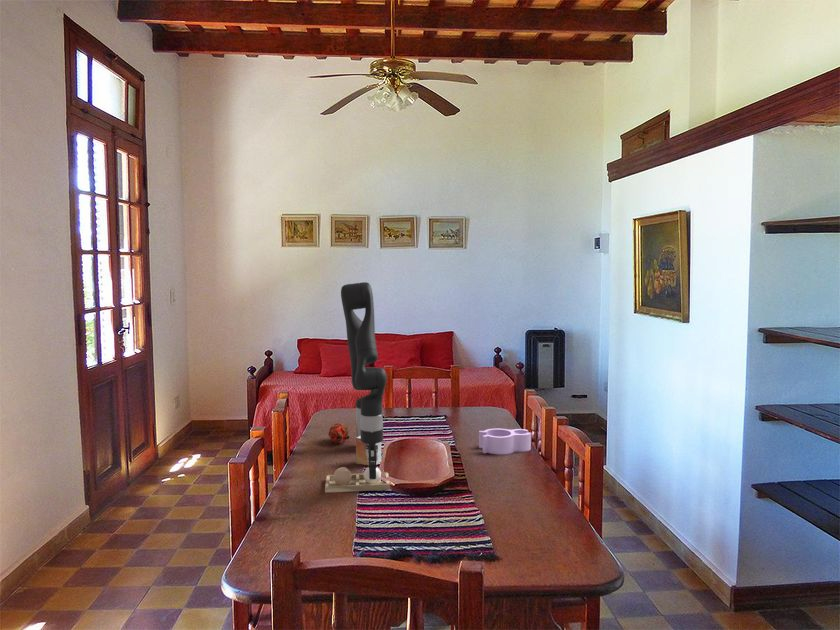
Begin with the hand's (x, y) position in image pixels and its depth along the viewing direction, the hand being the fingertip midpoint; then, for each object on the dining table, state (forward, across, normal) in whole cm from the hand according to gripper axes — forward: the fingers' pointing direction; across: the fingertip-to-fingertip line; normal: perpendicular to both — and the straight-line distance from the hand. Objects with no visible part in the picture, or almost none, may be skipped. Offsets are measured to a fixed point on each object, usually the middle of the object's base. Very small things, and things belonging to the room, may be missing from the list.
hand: (372, 474), depth 190 cm
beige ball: (+3, 0, -10) cm, 11 cm away
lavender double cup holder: (+4, -32, +54) cm, 63 cm away
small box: (+4, -21, -1) cm, 21 cm away
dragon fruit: (+4, -49, -13) cm, 51 cm away
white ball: (+3, 0, 0) cm, 3 cm away
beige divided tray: (+4, 0, -5) cm, 6 cm away
